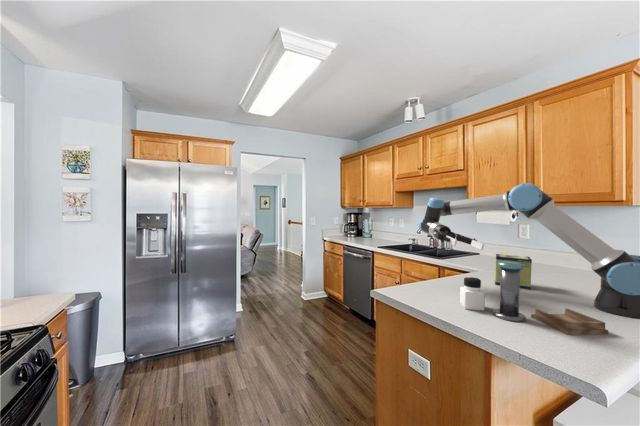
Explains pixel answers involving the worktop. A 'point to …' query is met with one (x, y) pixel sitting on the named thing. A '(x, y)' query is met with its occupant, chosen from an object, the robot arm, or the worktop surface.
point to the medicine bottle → (472, 294)
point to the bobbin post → (509, 292)
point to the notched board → (571, 322)
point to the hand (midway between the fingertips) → (469, 245)
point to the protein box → (524, 273)
